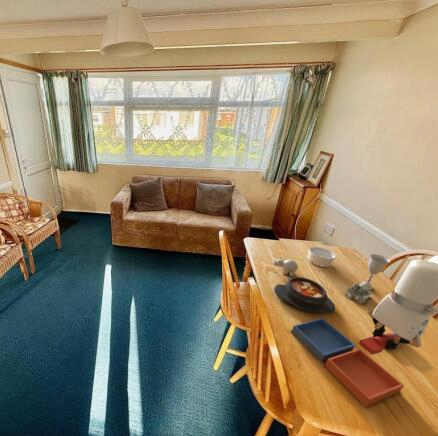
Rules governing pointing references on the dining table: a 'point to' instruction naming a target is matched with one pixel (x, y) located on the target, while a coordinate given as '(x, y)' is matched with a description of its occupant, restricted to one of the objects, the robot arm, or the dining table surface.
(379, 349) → the red spoon
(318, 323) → the blue bin
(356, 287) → the grey rock
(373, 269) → the chalice
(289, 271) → the chubby cartoon animal
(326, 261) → the ramekin
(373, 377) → the red bin
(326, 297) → the casserole
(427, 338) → the dining table surface
